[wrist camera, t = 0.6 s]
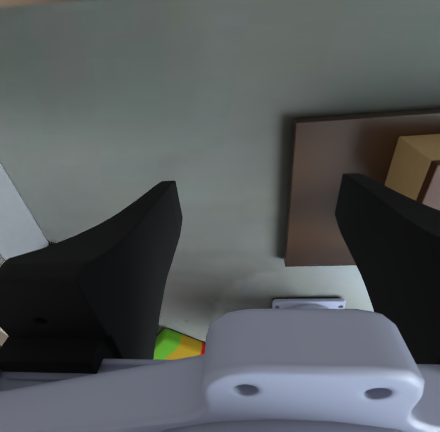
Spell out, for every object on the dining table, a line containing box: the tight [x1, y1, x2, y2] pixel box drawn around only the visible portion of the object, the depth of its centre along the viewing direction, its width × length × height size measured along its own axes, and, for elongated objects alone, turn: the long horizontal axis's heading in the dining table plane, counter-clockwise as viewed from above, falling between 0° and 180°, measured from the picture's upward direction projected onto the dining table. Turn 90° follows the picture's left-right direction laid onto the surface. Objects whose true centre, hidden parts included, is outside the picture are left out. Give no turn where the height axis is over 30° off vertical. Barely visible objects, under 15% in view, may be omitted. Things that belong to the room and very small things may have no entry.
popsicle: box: [153, 328, 206, 360], centre depth 37 cm, size 6×15×2 cm, turn 58°
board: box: [284, 108, 440, 267], centre depth 22 cm, size 14×18×1 cm
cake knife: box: [0, 163, 53, 261], centre depth 25 cm, size 19×2×4 cm, turn 5°
